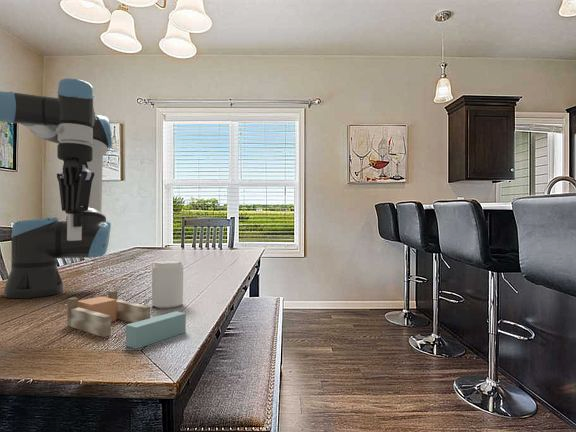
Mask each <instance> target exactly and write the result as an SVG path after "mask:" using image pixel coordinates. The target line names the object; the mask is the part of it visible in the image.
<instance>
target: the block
mask: <svg viewBox="0 0 576 432" xmlns="http://www.w3.org/2000/svg"><path fill="white" fill-rule="evenodd" d="M78 307H79V308H83V309H87V310H91V311H95V312H98V313H102V314H106V315H110V316H111V323H112V322H115V321H117V318H116V299H111V298H108V296H97V297H92V298H86V299H81V300H78Z"/></svg>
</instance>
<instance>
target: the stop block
mask: <svg viewBox="0 0 576 432" xmlns="http://www.w3.org/2000/svg"><path fill="white" fill-rule="evenodd" d="M186 320H187V314H186V313H185V312H181V311H178V310H177V311H176V310H175V311H172V312H168V313H165V314H160V315H157V316H153V317H150V318H149V319H146V320H142V321H138V322H135V323H132V322H130V323H128V324H126V325H125V347H127V348H128V347H129V348H132V349H134V350H137V349H140V348H144V347H146V346H148V345H153V344H154V343H158V342H161V341H164V340H167V339H169V338H173V337H175V336H179V335H181V334H184V333H186V330H187V329H186V323H187V322H186Z"/></svg>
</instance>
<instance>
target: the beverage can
mask: <svg viewBox="0 0 576 432" xmlns="http://www.w3.org/2000/svg"><path fill="white" fill-rule="evenodd" d="M182 304H184V264H183V263H182V260H176V259H173V260H171V259H166V260H164V259H163V260H157V261H154V263H153V265H152V269H151V305H152V306H153V307H155V308H156V309H171V308H177V307H179V306H180V305H182Z"/></svg>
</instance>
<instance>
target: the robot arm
mask: <svg viewBox="0 0 576 432" xmlns="http://www.w3.org/2000/svg"><path fill="white" fill-rule="evenodd" d="M57 89H58V90H57V97H50V96H42V95H35V94H30V93H29V94H28V93H20V92H14V91H3V90H2V91H1V90H0V122H4V123H10V124H20V125H21V126H23V127H26V128H27V129H29V131H30V133H31V134H33V135H34V136H36V137H38V138H40V139H42V140H45V141H48V142H51V143H54V144H57V159H58V160H61V161H63V165H62V171H61V172H60V173H56V179H57V181H58V187H59V189H58V190H59V197H60V205H61V207H60V208H61V211H62V212H65V214H66V218H65V221H59V219H58V217H57V216H55V217H54V216H53V217H46V218H43V217H42V218H34V219H26V220H25V219H24V220H18V221H15V222H13V224H12V227H11V228H12V229H11V235H10V238H11V259H10V261H11V266H10V267H11V268H10V272H9V275H8V276H7V277H8V278H7V280H6V282H5V285H4V288H3V297H4V298H8V299H29V298H30V299H31V298H40V297H48V296H53V295H56V294H59V293H63V291H64V282H63V279H62V277H61V274H60V271H59V269H58V259H80V258H83V259H84V258H88V259H91V258H98V257H99V258H100V257H101V258H102V257H104V256H105V255H106V254H107V250H108V246H109V241H110V234H111V224H112V223H111V222H110V221H108V220H107V217H106V215H105V214H103V213H102V200H103V197H102V195H103V194H102V193H103V161H104V160H103V158H104V157H103V156H104V155H106V154H107V153H108V150H109V149H112V146H113V138H112V130H111V129H112V127H111V123H110V120H109V118H108V117H107V116H103V115H99V114H96V112H95V108H94V97H95V96H94V88H93V86H92V84H90V83H89V82H88V81H85V80H82V79H77V78H71V77H70V78H69V77H68V78H62V79H60V80H59V82H58V88H57Z"/></svg>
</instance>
